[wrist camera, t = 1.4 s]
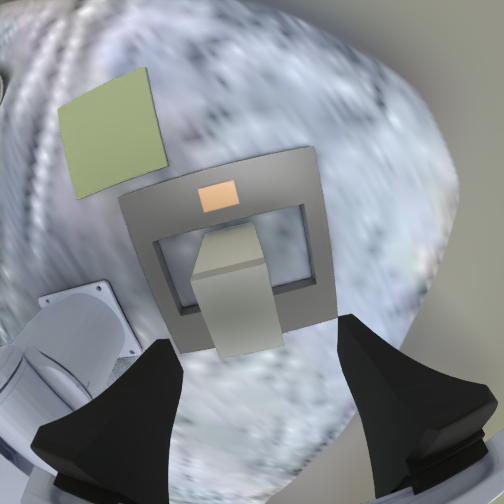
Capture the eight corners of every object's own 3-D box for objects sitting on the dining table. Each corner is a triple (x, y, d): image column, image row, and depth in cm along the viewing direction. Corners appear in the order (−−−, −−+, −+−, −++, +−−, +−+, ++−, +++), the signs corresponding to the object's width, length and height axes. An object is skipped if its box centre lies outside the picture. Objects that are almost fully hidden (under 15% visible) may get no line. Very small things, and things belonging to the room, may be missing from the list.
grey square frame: (182, 345, 23) (179, 356, 22) (123, 195, 18) (115, 198, 17) (333, 310, 23) (339, 320, 22) (309, 146, 18) (315, 146, 17)
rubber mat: (79, 199, 18) (77, 199, 18) (60, 109, 15) (57, 109, 15) (169, 165, 18) (167, 166, 18) (146, 67, 15) (144, 66, 15)
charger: (222, 291, 22) (220, 359, 14) (204, 233, 20) (190, 281, 12) (266, 281, 22) (284, 345, 14) (252, 221, 20) (265, 263, 12)
